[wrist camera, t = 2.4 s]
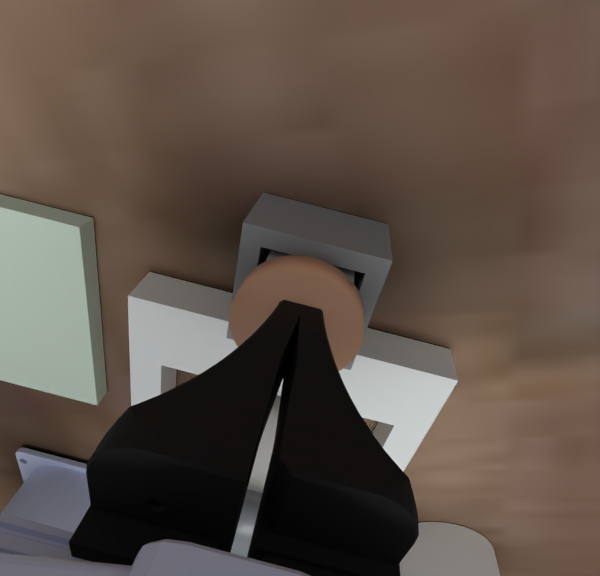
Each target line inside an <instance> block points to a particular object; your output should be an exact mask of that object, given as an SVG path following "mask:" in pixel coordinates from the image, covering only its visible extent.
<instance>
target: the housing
mask: <svg viewBox="0 0 600 576" xmlns="http://www.w3.org/2000/svg"><path fill="white" fill-rule="evenodd" d="M270 250H275V251H279V252H283V253H287V254H291V255H299V256H307V257H313V258H316V259H319V260H322V261H325V262H327V263H329V264H331V265H334V266H338V267H342V268H345V269H349V270H353V271H355V274H354V285H355V286H356V288H357V290H358V292H359V293H360V296H361V299H362V302H363V307H364V335H363V342H362V345H361V348H360V350H359V352H358V354H357V355H356V357H355V358H354V359H353V360H352V362H351V363H350V364H349V365H347V366H346V367H345V368H343V369H342V370H340V371H339V373H340V376H341V378H342V380H343V383H344V385H345V387H346V389H347V391H348V393H349V395H350V397H351V399H352V401H353V403H354V405H355V406H356V408H357V410H358V412H359V414H360V415H361V417H363V418H367V419H371V420H375V421H378V423H377V425H376V427H375V429H374V431H373V433H372V434H373V435H374V437H375V438H376V439H377V441H378V442H379V443H380V445H381V446H382V447H383V449H384V450H385V451H386V453H387V454H388V455H389V456H390V457H391V458H392V459H393V461H394V462H395V463H396V464H397V465H398V466H399V468H400V469H401V470H402V471H404V470H405V468H406V466H407V465H408V463H409V461H410V460H411V458H412V456H413V455H414V453H415V452H416V450H417V448H418V447H419V445H420V443H421V442H422V440H423V438H424V437H425V435H426V433H427V432H428V430H429V428H430V427H431V425H432V423H433V422H434V420H435V418H436V417H437V415H438V413H439V412H440V410H441V408H442V407H443V405H444V403H445V402H446V400H447V398H448V397H449V395H450V393H451V392H452V390H453V389H454V387H455V385H456V384H457V382H458V378H457V374H456V371H455V367H454V363H453V359H452V355H451V351H450V349H448V348H444V347H440V346H436V345H432V344H429V343H425V342H421V341H417V340H413V339H409V338H405V337H401V336H397V335H394V334H390V333H386V332H382V331H378V330H374V329H370V328H367V327H368V324H369V321H370V319H371V316H372V314H373V311H374V308H375V306H376V303H377V301H378V298H379V296H380V293H381V290H382V288H383V285H384V283H385V280H386V277H387V275H388V272H389V270H390V267H391V265H392V262H393V257H392V248H391V239H390V230H389V224H385V223H381V222H378V221H374V220H370V219H366V218H362V217H358V216H354V215H350V214H346V213H342V212H338V211H334V210H331V209H327V208H323V207H319V206H315V205H311V204H307V203H303V202H299V201H295V200H291V199H287V198H283V197H280V196H276V195H272V194H268V193H264V192H263V193H262V195H261V196H260V198H259V199H258V201H257V202H256V204H255V205H254V207H253V208H252V210H251V211H250V213H249V214H248V216H247V217H246V219H245V220H244V221H243V225H242V232H241V239H240V246H239V253H238V260H237V267H236V274H235V281H234V288H233V293H230V292H226V291H223V290H219V289H215V288H211V287H207V286H203V285H199V284H195V283H191V282H188V281H184V280H180V279H176V278H172V277H168V276H164V275H160V274H156V273H153V272H149V273H148V274H147V275H146V276H145V277H144V279H143V280H142V281H141V282H140V283H139V284H138V285H137V286H136V287H135V288H134V289H133V290H132V292H131V293H130V294H129V295H128V319H129V350H130V382H131V406H133V405H136V404H138V403H141V402H143V401H146V400H148V399H151V398H153V397H156V396H158V395H160V394H163V393H165V392H167V391H169V390H171V389H173V388H175V387H176V372H177V369H178V370H182V371H186V372H190V373H193V374H197V375H199V374H201V373H203V372H204V371H206V370H207V369H209V368H210V367H212V366H213V365H215V364H216V363H218V362H219V361H221V360H222V359H223V358H225V357H226V356H228V355H229V354H230V353H231V352H233V351H234V350H235V349H236V348H238V346H237V345H236V343H235V341H234V339H233V337H232V334H231V331H230V326H229V312H230V308H231V305H232V302H233V300H234V298H235V296H236V294H237V292H238V290H239V288H240V286H241V284H242V282H243V281H244V279H245V278H246V276H247V275H248V274H249V273H250V272H251V271H252V270H253V269H254V268H255V267H257V266H258V265H260V264H262V263H263V262H266V259H267V257H268V255H269V253H270ZM282 384H283V380H282V383H281V385H280V388H279V391H278V393H277V395H278V396H281V391H282Z"/></svg>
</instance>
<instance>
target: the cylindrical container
mask: <svg viewBox="0 0 600 576" xmlns="http://www.w3.org/2000/svg"><path fill="white" fill-rule="evenodd" d="M418 528H419V535H418V538H417V540H416V542H415V544H414V545H413V546H412V548H411V549H410V550H409V551H408V553H407V554H406V555H405V557H404V558H403V559H402V561H401V562H400V576H500V573H499V569H498V564H497V560H496V556H495V552H494V548H493V546H492V545H491V543H490V542H489V541H488V540H487V539H486V538H485V537H484V536H482V535H481V534H479V533H478V532H476V531H474V530H471V529H469V528H466V527H463V526H460V525H456V524H451V523H443V522H421V523H418Z"/></svg>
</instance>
